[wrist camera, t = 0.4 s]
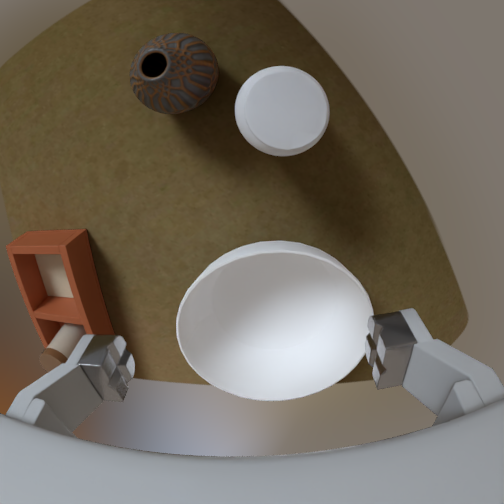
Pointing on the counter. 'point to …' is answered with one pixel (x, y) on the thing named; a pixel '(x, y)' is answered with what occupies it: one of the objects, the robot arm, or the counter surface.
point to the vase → (174, 73)
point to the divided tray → (59, 281)
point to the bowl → (274, 321)
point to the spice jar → (61, 346)
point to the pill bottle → (282, 111)
